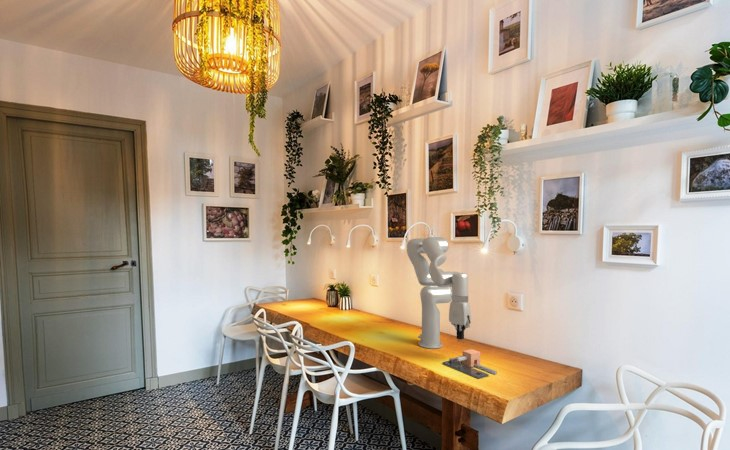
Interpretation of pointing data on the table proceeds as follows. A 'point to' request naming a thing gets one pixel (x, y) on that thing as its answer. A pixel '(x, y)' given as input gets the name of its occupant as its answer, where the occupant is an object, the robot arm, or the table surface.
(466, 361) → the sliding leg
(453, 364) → the bolt plate
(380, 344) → the table surface
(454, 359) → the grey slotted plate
